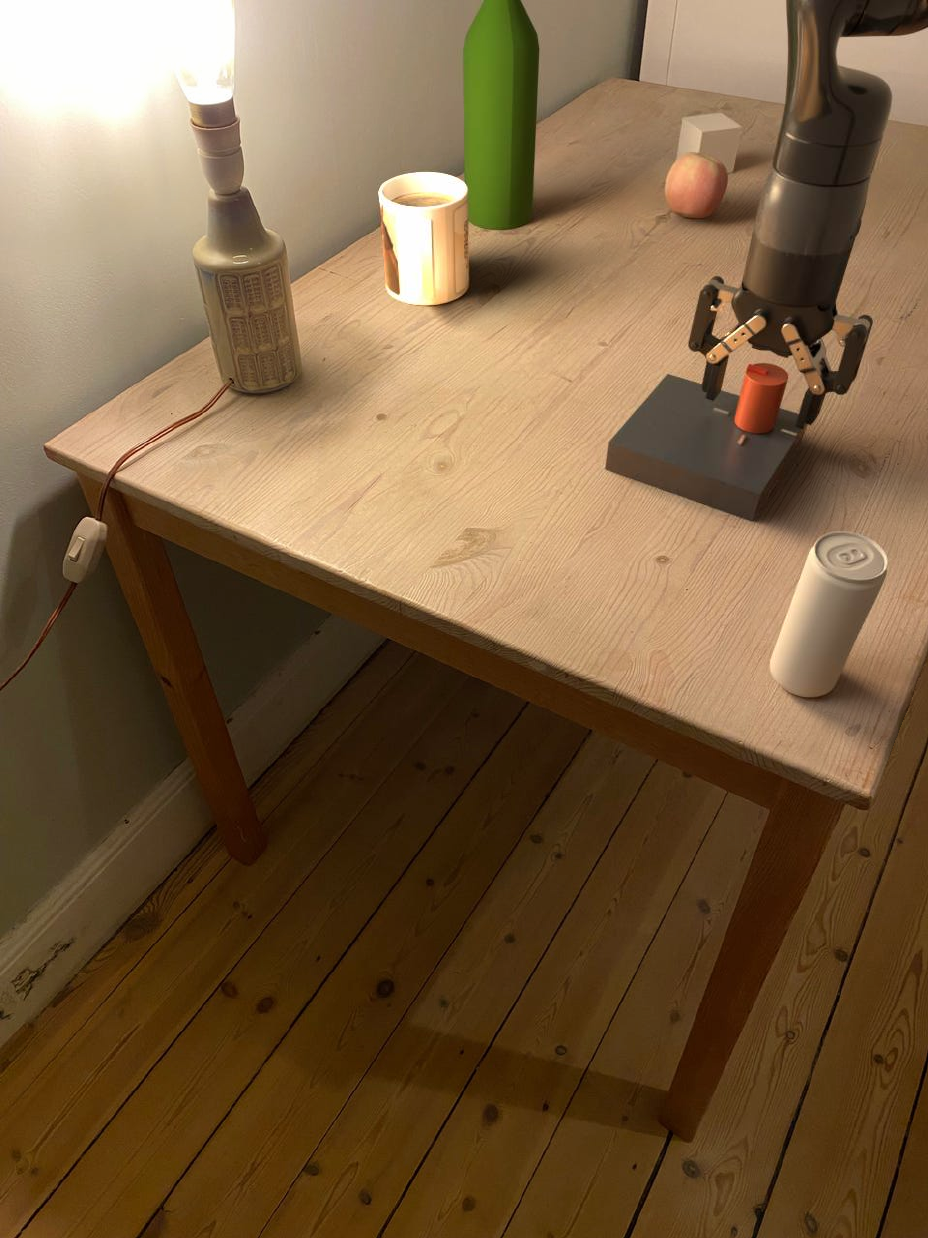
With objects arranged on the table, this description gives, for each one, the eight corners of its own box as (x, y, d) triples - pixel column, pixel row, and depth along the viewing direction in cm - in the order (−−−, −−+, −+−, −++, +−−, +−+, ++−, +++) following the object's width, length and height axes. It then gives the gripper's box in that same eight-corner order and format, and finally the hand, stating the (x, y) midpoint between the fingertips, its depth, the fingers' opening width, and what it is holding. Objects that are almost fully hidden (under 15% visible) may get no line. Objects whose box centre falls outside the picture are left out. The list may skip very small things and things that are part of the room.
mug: (490, 281, 108) (491, 184, 100) (431, 324, 101) (427, 225, 93) (418, 258, 112) (413, 164, 104) (357, 299, 105) (347, 201, 97)
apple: (725, 231, 116) (738, 166, 110) (664, 231, 116) (674, 166, 111) (714, 205, 122) (726, 141, 116) (657, 205, 122) (666, 141, 116)
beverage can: (754, 663, 67) (795, 542, 58) (806, 642, 68) (854, 521, 60) (796, 711, 64) (846, 591, 55) (850, 688, 65) (908, 567, 57)
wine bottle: (546, 214, 120) (563, -96, 97) (501, 236, 116) (507, -82, 92) (496, 195, 125) (500, -105, 101) (450, 216, 120) (444, -93, 96)
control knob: (780, 418, 83) (795, 366, 79) (766, 438, 81) (781, 386, 77) (742, 406, 84) (755, 355, 80) (728, 426, 82) (740, 374, 78)
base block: (802, 441, 86) (811, 413, 83) (752, 521, 78) (760, 492, 76) (664, 398, 91) (669, 370, 89) (604, 468, 83) (608, 440, 81)
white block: (694, 177, 128) (702, 131, 124) (675, 162, 132) (682, 117, 128) (733, 172, 129) (741, 126, 125) (713, 156, 133) (721, 111, 129)
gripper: (698, 226, 70) (666, 406, 82) (886, 271, 65) (822, 457, 77) (733, 191, 75) (698, 367, 87) (912, 231, 69) (848, 413, 81)
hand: (756, 409), depth 82 cm, fingers open, 8 cm apart
